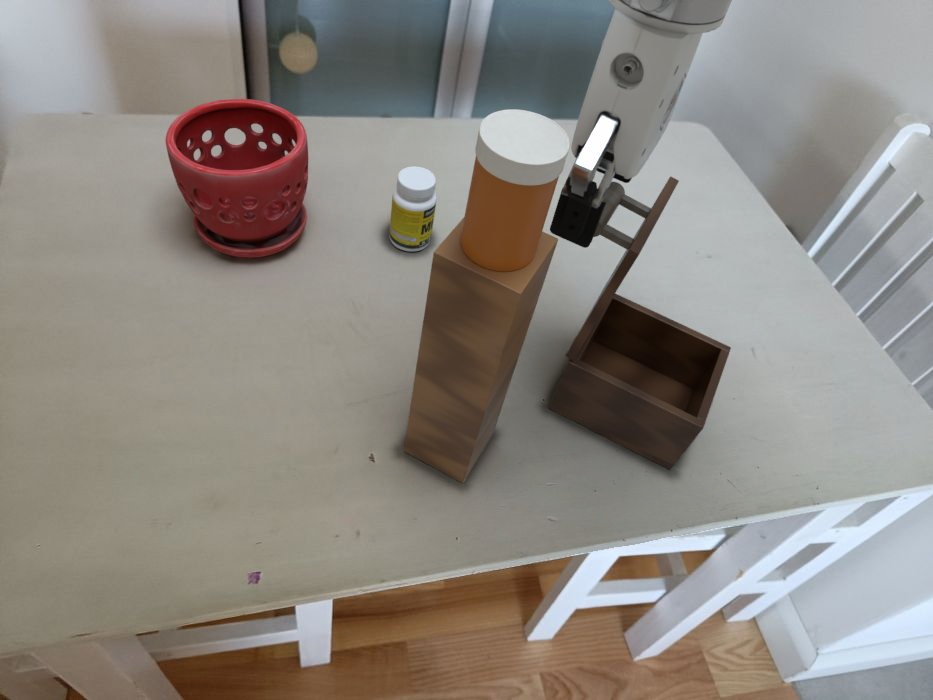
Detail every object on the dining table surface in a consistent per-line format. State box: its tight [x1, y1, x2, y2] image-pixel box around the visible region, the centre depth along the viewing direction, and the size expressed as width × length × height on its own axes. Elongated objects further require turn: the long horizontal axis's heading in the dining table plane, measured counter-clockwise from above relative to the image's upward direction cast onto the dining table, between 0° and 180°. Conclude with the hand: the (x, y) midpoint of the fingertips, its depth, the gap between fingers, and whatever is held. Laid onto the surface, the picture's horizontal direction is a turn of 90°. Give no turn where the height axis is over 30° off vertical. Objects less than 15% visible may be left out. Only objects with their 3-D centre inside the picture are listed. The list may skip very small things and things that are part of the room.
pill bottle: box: [460, 108, 571, 272], centre depth 40 cm, size 5×5×8 cm
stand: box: [403, 217, 559, 484], centre depth 53 cm, size 6×6×24 cm
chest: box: [547, 292, 732, 471], centre depth 65 cm, size 13×11×7 cm
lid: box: [565, 176, 680, 360], centre depth 58 cm, size 14×11×5 cm
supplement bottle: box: [388, 166, 438, 252], centre depth 74 cm, size 5×5×8 cm
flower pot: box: [165, 98, 309, 259], centre depth 70 cm, size 13×13×12 cm
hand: (591, 205), depth 54 cm, fingers open, 9 cm apart
